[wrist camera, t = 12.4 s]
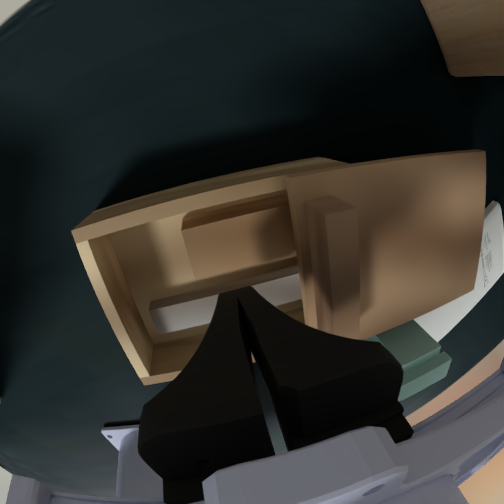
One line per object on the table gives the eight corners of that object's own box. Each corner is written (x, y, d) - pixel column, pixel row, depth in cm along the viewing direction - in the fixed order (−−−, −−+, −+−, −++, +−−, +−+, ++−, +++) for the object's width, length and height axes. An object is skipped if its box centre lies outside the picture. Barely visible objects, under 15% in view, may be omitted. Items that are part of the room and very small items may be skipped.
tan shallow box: (416, 271, 19) (446, 292, 16) (149, 347, 17) (144, 385, 14) (416, 144, 16) (454, 150, 13) (94, 210, 14) (71, 230, 11)
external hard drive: (391, 288, 20) (488, 198, 19) (414, 346, 24) (497, 264, 23) (404, 299, 19) (501, 203, 18) (424, 356, 22) (508, 271, 21)
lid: (467, 285, 16) (493, 303, 14) (307, 349, 15) (326, 384, 13) (477, 149, 13) (512, 157, 10) (284, 175, 11) (309, 187, 9)
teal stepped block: (392, 327, 21) (443, 383, 15) (348, 344, 21) (393, 410, 14) (395, 295, 20) (454, 350, 14) (348, 313, 19) (401, 379, 13)
